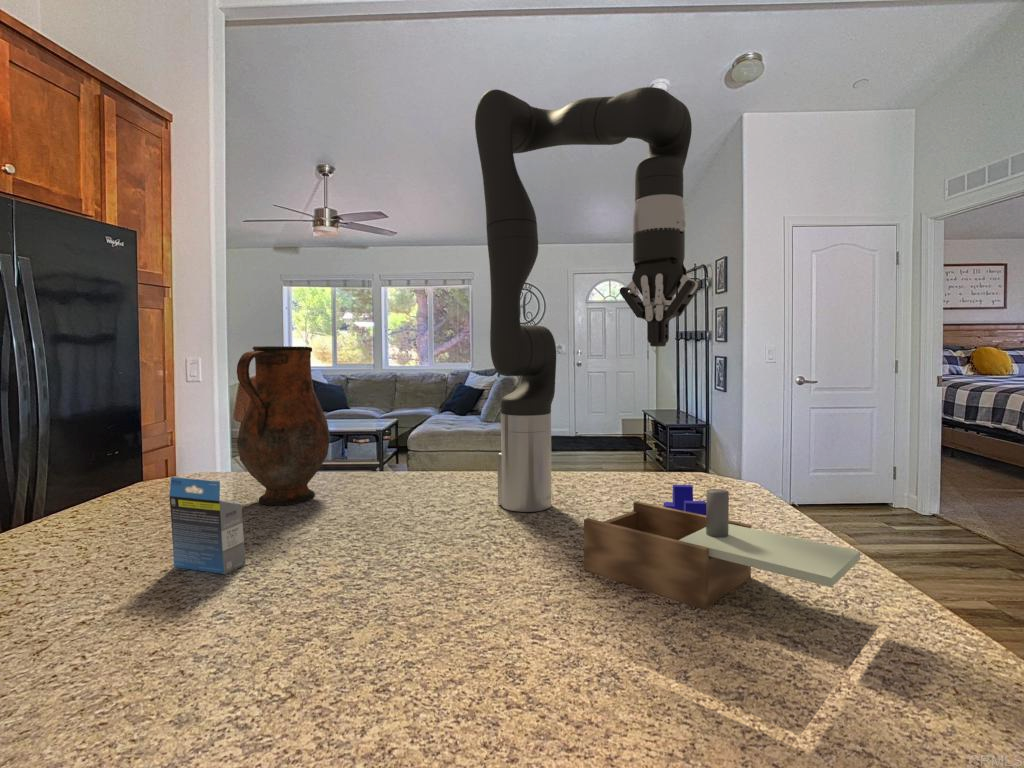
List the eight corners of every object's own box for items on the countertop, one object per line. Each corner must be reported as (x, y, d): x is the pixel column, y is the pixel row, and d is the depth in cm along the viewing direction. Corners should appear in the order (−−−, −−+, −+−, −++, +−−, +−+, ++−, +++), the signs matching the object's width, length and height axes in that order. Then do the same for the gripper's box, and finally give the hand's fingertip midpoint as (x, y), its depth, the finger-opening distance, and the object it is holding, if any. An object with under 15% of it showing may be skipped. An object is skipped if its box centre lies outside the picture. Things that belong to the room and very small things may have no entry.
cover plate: (678, 548, 63) (678, 495, 63) (717, 528, 70) (718, 481, 70) (831, 587, 52) (832, 524, 52) (860, 559, 59) (861, 503, 59)
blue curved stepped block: (663, 519, 96) (663, 484, 96) (690, 520, 95) (691, 485, 95) (675, 542, 84) (675, 502, 84) (706, 543, 83) (706, 503, 83)
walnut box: (584, 575, 71) (583, 519, 71) (636, 551, 80) (636, 501, 79) (704, 616, 60) (705, 549, 59) (750, 583, 68) (751, 524, 68)
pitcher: (346, 489, 118) (343, 346, 117) (288, 519, 97) (283, 344, 96) (274, 487, 121) (270, 347, 120) (203, 514, 100) (197, 345, 99)
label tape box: (246, 565, 76) (243, 474, 75) (222, 576, 72) (219, 481, 71) (196, 558, 79) (193, 470, 78) (170, 568, 75) (166, 476, 74)
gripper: (607, 234, 87) (607, 347, 88) (687, 219, 78) (686, 345, 79) (634, 241, 92) (634, 347, 93) (712, 227, 83) (710, 345, 84)
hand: (658, 346), depth 86 cm, fingers closed
